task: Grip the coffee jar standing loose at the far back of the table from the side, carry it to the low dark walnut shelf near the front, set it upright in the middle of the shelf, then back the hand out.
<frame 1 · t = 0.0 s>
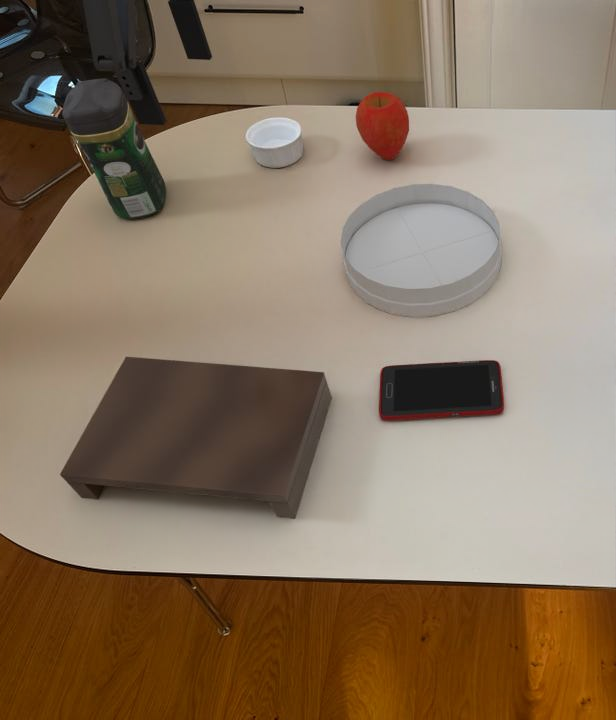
hand: (178, 88, 78), 27 cm above the table, tool pointing down, fingers open, 13 cm apart
dish: (423, 261, 100), on the table
apple: (387, 157, 116), on the table
coffee jar: (141, 203, 110), on the table
shelf: (212, 445, 81), on the table
ramekin: (280, 156, 117), on the table
cell phone: (441, 393, 85), on the table
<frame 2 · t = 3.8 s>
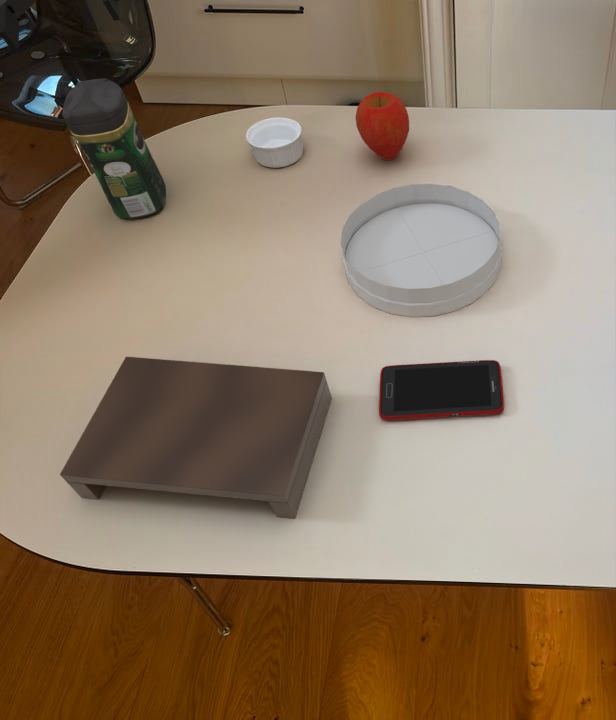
hand: (60, 26, 92), 26 cm above the table, tool horizontal, fingers open, 13 cm apart
nothing on the table moved.
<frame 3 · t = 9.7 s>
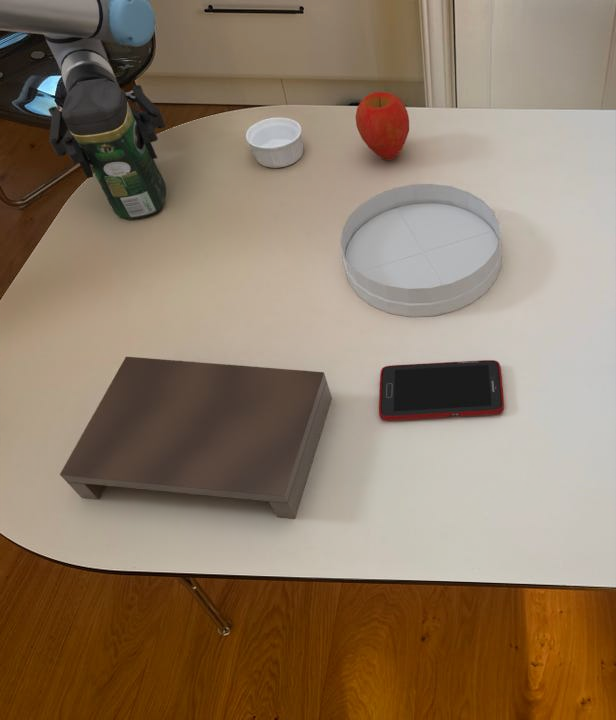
hand: (119, 159, 99), 11 cm above the table, tool horizontal, fingers closed on coffee jar, 8 cm apart
coffee jar: (141, 202, 110), on the table, touching gripper
everything else where it was.
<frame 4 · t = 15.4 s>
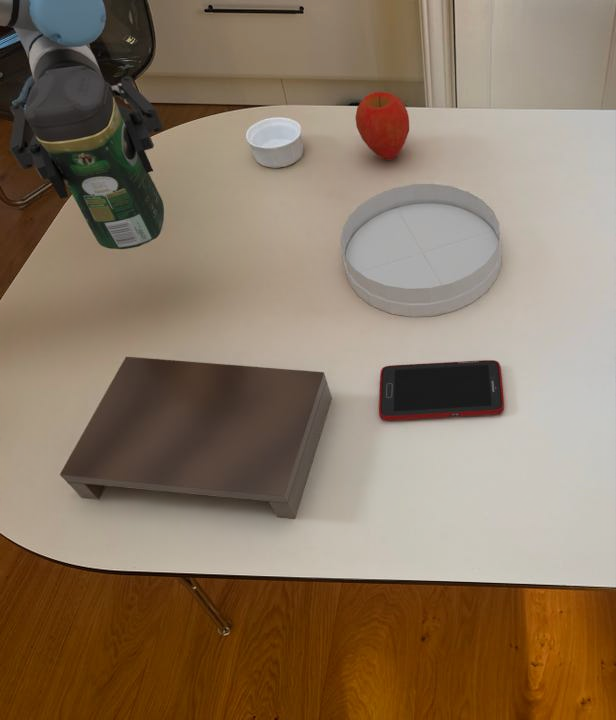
hand: (102, 174, 74), 24 cm above the table, tool horizontal, fingers closed on coffee jar, 8 cm apart
coffee jar: (133, 227, 85), point 13 cm above the table, touching gripper
everything else where it was.
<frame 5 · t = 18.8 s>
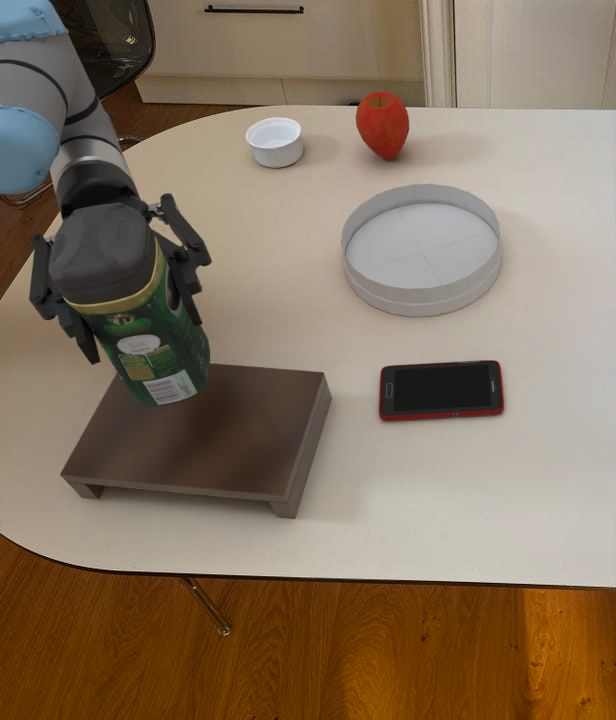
hand: (142, 333, 61), 23 cm above the table, tool horizontal, fingers closed on coffee jar, 8 cm apart
coffee jar: (173, 373, 72), point 12 cm above the table, touching gripper
everything else where it was.
when the fingers open (15 cm above the table, at t = 21.4 s): coffee jar stays where it is, resting on shelf.
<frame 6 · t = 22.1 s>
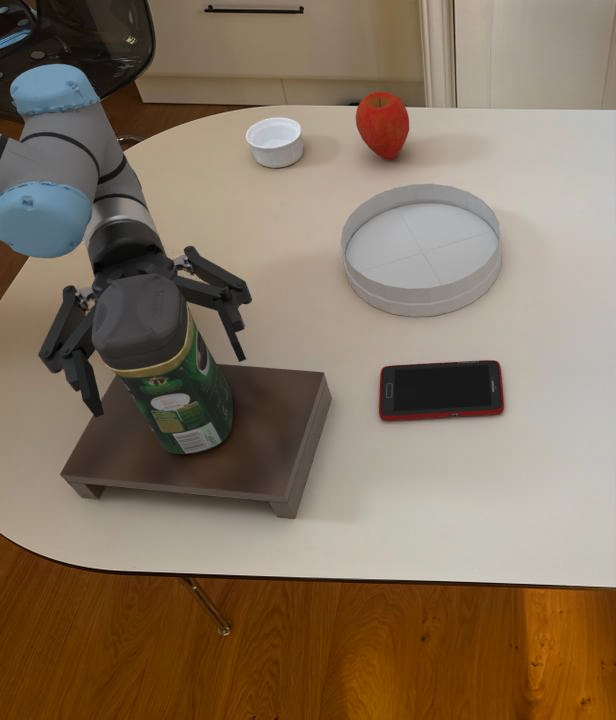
hand: (168, 379, 66), 16 cm above the table, tool horizontal, fingers open, 13 cm apart
coffee jar: (199, 421, 77), point 5 cm above the table, touching shelf
everything else where it was.
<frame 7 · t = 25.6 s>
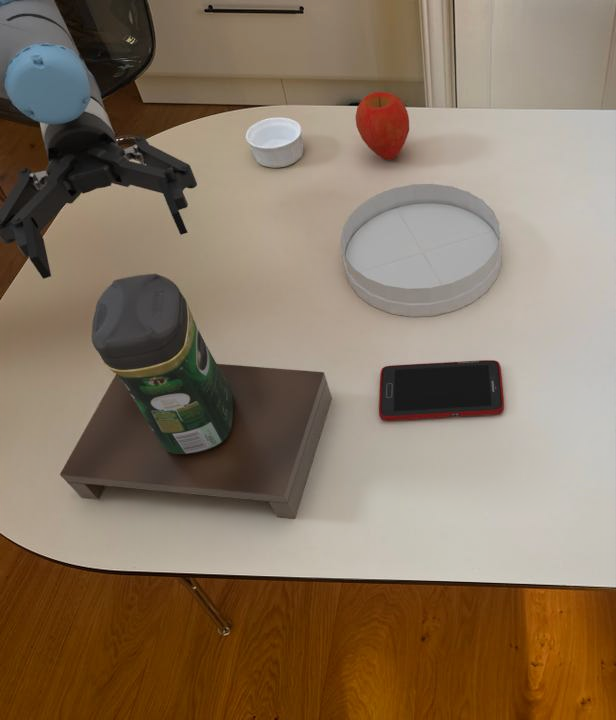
hand: (112, 245, 71), 21 cm above the table, tool horizontal, fingers open, 13 cm apart
nothing on the table moved.
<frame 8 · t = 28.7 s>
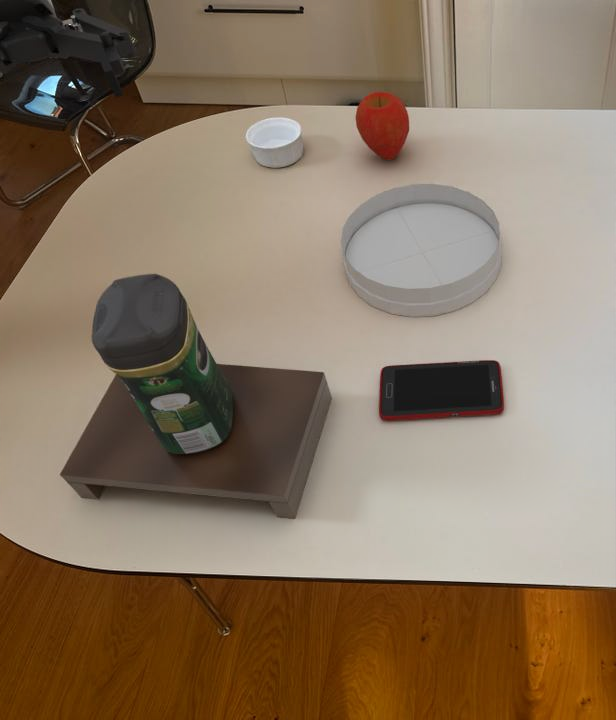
hand: (41, 103, 68), 32 cm above the table, tool horizontal, fingers open, 13 cm apart
nothing on the table moved.
at the end: coffee jar inside the target area on the shelf (0.0 cm from its centre), point 4.8 cm above the shelf's base; coffee jar tilted 0°; the gripper is holding nothing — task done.
